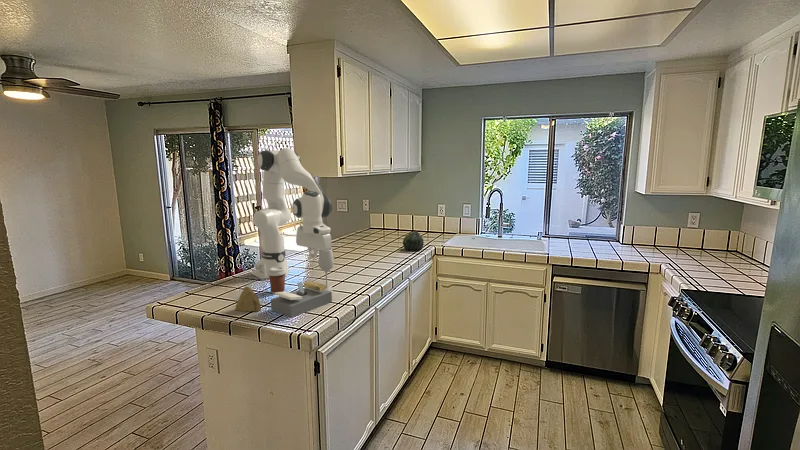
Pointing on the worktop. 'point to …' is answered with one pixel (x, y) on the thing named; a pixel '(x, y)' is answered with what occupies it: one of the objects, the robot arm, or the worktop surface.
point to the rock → (248, 301)
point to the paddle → (300, 288)
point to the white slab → (288, 295)
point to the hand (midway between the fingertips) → (313, 257)
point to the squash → (413, 241)
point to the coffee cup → (277, 279)
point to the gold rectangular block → (314, 285)
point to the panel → (301, 302)
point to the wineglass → (326, 263)
